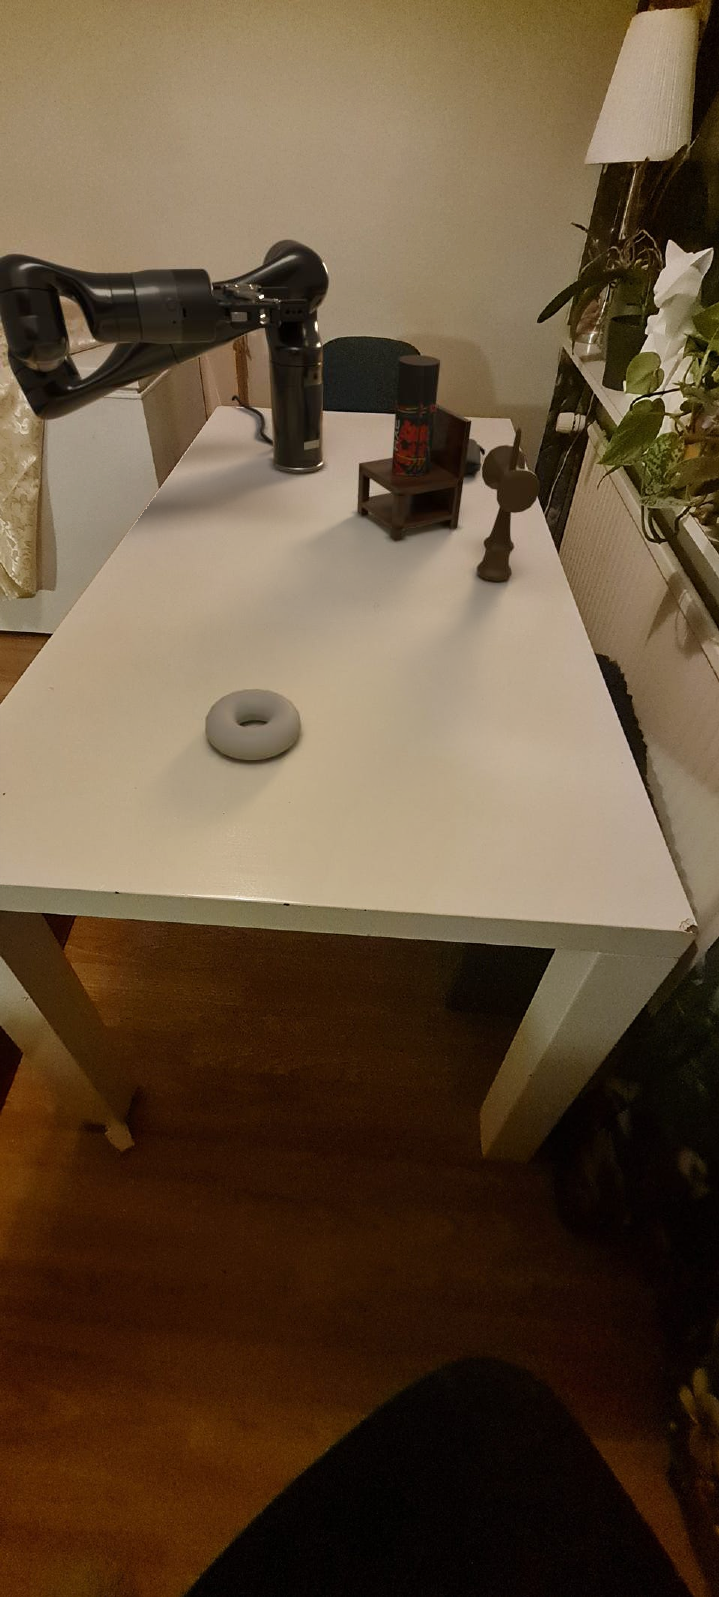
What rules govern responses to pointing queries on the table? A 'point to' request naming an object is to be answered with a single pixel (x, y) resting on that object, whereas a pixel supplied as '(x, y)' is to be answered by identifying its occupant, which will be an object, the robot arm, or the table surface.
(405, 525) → the miniature wooden chair
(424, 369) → the deodorant
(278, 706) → the donut
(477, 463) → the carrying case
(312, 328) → the robot arm
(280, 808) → the table surface
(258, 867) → the table surface
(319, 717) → the table surface
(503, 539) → the kendama
